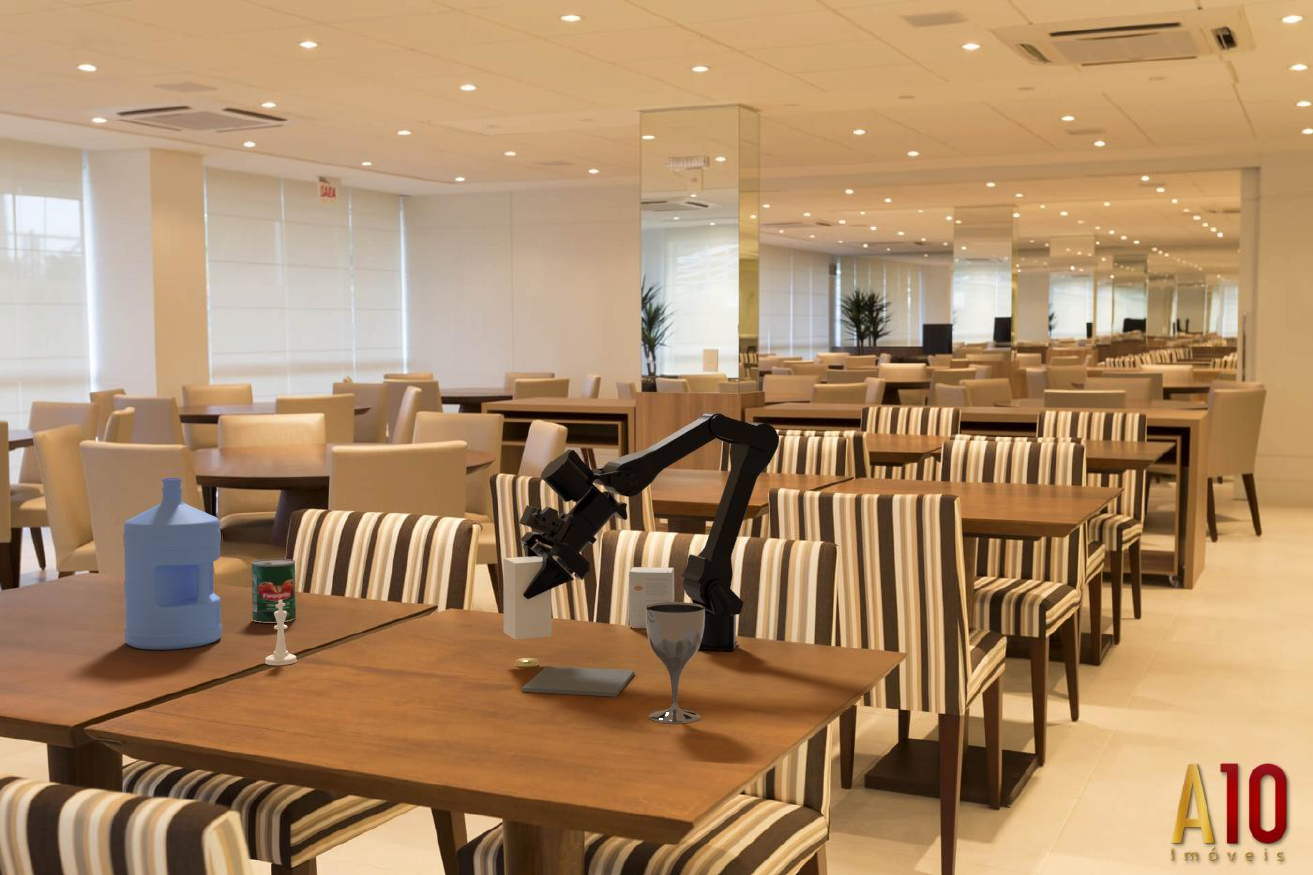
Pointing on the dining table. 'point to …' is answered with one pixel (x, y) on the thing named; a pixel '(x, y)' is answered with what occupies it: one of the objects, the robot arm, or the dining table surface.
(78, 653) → the dining table surface
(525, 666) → the brass button
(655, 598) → the small box
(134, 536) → the water jug
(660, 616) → the wine glass
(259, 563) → the canned tomato
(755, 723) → the dining table surface
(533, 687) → the slate mat
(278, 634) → the chess piece
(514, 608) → the white rectangular block
